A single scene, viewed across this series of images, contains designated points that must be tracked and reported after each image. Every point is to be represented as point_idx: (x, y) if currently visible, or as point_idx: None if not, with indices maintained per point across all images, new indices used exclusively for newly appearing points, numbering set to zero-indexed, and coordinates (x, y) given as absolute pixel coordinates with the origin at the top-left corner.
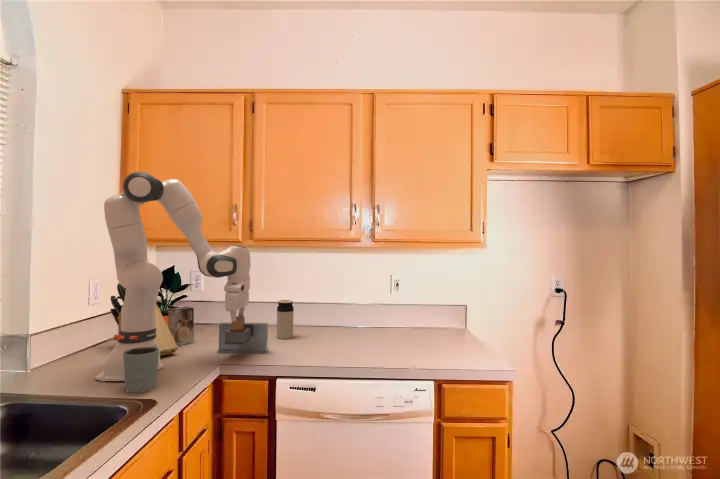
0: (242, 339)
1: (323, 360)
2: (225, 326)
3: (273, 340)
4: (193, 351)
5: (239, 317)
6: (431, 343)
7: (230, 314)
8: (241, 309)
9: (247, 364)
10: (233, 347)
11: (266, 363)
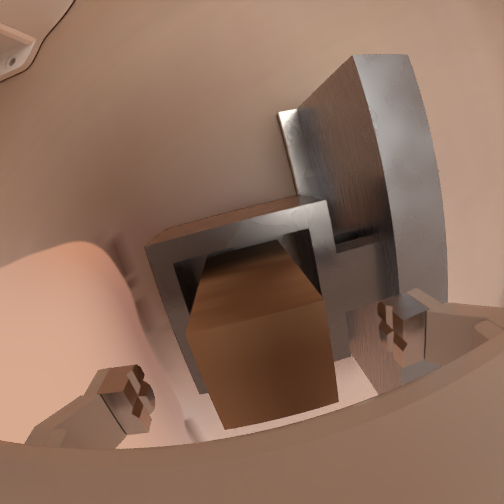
0: None
1: None
2: (358, 118)
3: (498, 264)
4: (264, 2)
5: (268, 388)
6: None
7: (49, 417)
8: (467, 345)
9: (156, 351)
10: (321, 188)
11: (197, 404)
